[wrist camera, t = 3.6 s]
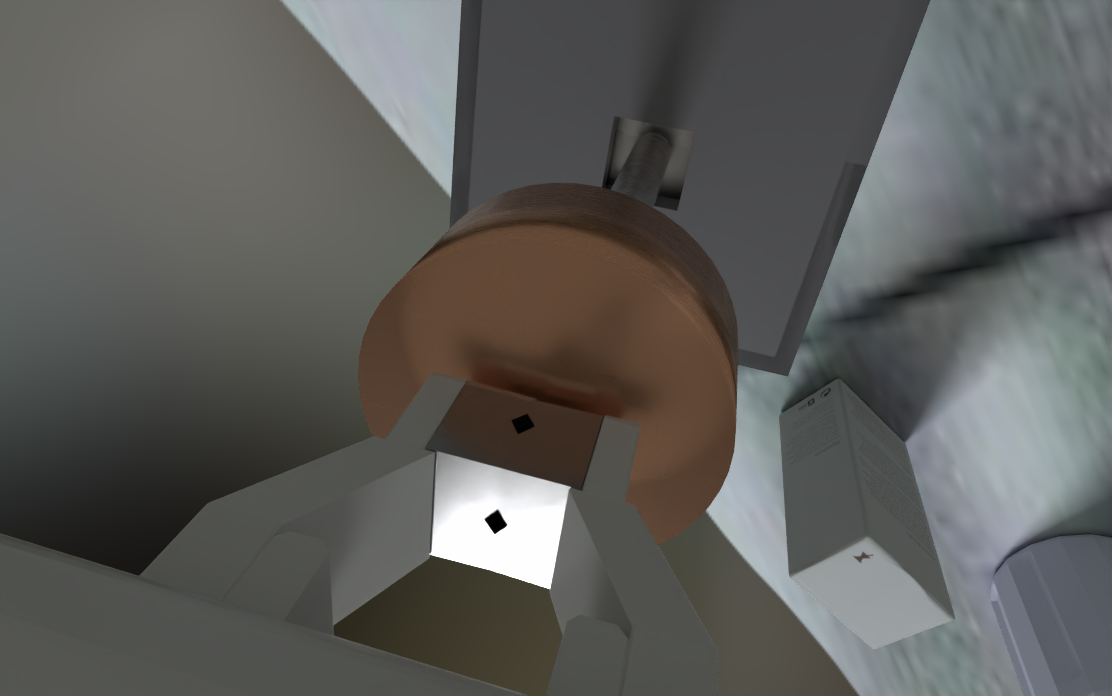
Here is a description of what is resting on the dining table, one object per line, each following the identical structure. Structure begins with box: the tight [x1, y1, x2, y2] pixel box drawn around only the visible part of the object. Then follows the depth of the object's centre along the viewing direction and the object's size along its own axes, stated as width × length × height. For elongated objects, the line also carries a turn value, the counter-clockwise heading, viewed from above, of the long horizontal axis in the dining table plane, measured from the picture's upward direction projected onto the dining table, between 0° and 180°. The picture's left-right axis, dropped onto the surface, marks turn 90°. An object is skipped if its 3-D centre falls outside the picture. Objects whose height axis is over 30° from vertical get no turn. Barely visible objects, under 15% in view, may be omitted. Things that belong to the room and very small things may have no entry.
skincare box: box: [779, 378, 955, 650], centre depth 35 cm, size 6×4×12 cm
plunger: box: [358, 117, 739, 545], centre depth 17 cm, size 10×10×15 cm
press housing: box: [450, 0, 930, 376], centre depth 27 cm, size 12×12×14 cm
